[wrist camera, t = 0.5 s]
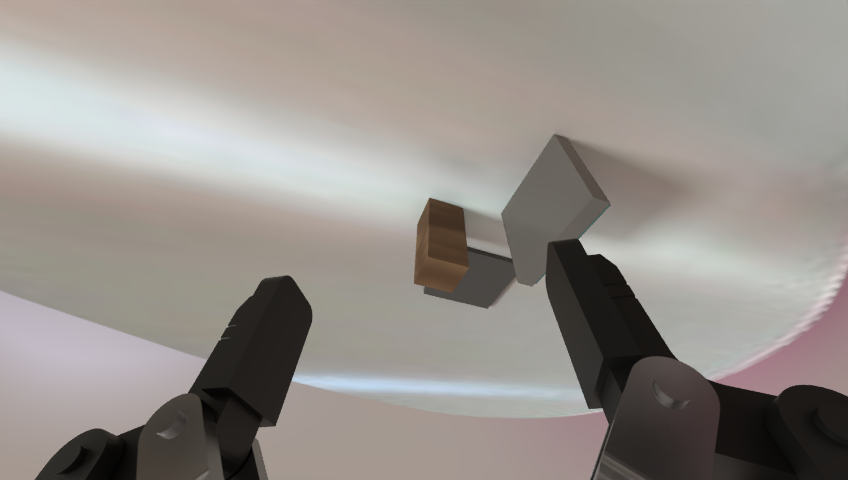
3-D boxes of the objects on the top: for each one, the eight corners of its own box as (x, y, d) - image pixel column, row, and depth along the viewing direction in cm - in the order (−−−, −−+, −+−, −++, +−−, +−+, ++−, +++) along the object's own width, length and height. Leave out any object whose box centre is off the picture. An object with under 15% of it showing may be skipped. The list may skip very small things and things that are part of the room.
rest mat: (451, 242, 35) (451, 246, 35) (522, 262, 37) (523, 266, 37) (424, 289, 41) (423, 293, 41) (487, 304, 43) (487, 308, 43)
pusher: (429, 197, 31) (428, 256, 25) (463, 208, 32) (469, 267, 26) (417, 224, 34) (413, 283, 28) (449, 233, 34) (452, 292, 29)
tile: (553, 133, 27) (593, 197, 20) (570, 140, 27) (614, 204, 20) (501, 213, 32) (518, 282, 26) (515, 217, 33) (535, 287, 26)
